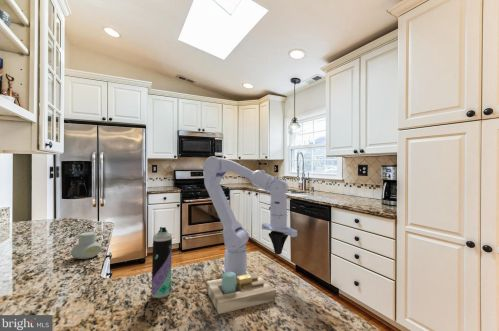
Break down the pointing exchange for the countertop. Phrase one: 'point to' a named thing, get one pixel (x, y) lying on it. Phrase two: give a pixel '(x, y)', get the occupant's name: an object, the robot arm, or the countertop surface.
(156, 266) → the spray can
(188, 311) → the countertop surface
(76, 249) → the air freshener
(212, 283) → the dock plate
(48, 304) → the countertop surface
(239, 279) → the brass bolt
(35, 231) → the countertop surface
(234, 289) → the teal peg
